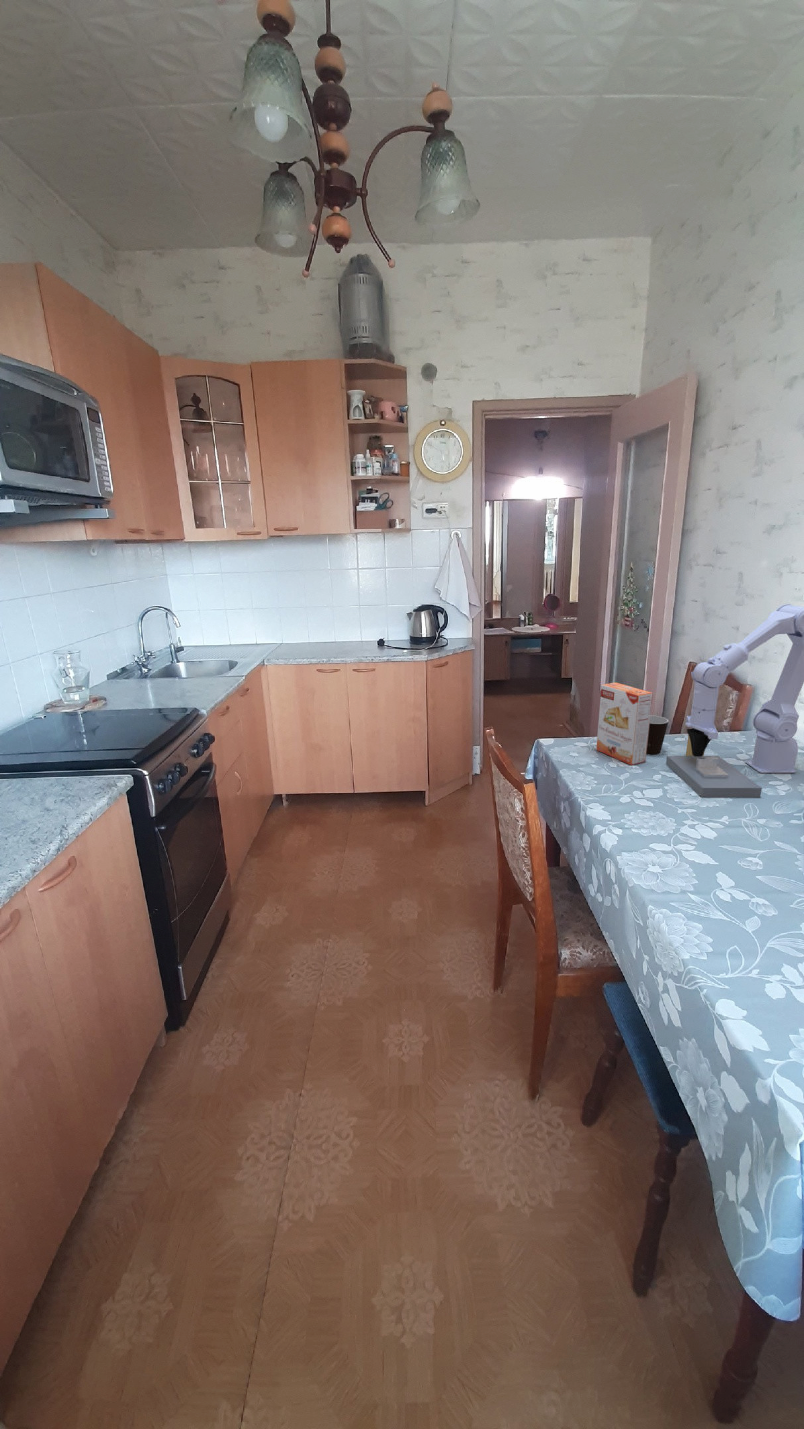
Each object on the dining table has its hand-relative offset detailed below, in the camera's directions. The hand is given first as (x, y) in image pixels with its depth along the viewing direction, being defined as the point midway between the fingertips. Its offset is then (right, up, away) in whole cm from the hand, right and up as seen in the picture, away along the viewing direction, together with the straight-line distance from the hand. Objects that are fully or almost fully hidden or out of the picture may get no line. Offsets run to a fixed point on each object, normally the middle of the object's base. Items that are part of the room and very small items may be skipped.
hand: (697, 755), depth 154 cm
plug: (+5, -1, +10) cm, 11 cm away
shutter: (0, -4, -7) cm, 8 cm away
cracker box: (-16, -1, +13) cm, 21 cm away
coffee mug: (-6, +1, +18) cm, 19 cm away
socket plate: (+1, -6, -5) cm, 8 cm away
